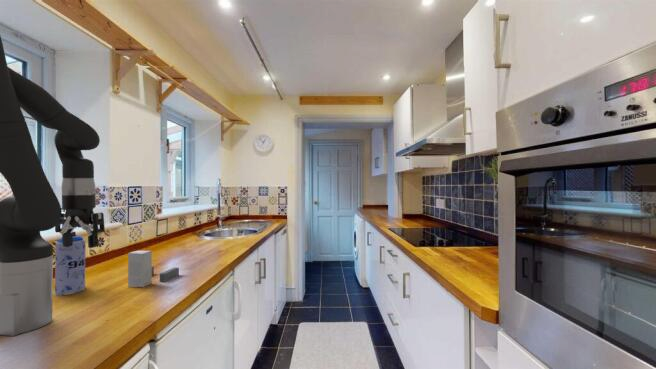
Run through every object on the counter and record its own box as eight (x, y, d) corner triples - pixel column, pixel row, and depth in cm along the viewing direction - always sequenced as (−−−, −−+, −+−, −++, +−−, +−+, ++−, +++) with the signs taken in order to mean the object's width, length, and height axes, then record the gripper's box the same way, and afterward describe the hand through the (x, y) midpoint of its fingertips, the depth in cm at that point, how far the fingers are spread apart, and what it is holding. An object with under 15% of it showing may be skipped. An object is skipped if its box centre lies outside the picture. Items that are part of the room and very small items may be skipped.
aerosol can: (63, 296, 88) (64, 234, 88) (48, 293, 90) (49, 233, 91) (91, 288, 95) (91, 230, 95) (76, 285, 98) (77, 229, 98)
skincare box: (152, 283, 100) (152, 250, 100) (143, 287, 96) (143, 253, 96) (136, 282, 101) (137, 250, 101) (127, 286, 97) (127, 253, 97)
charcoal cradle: (164, 282, 102) (164, 273, 102) (132, 280, 103) (133, 272, 103) (178, 275, 109) (178, 267, 110) (149, 273, 111) (149, 266, 111)
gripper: (44, 194, 79) (45, 249, 80) (87, 194, 78) (88, 250, 78) (71, 192, 87) (72, 243, 87) (111, 192, 85) (112, 244, 85)
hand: (80, 246), depth 83 cm, fingers open, 8 cm apart
